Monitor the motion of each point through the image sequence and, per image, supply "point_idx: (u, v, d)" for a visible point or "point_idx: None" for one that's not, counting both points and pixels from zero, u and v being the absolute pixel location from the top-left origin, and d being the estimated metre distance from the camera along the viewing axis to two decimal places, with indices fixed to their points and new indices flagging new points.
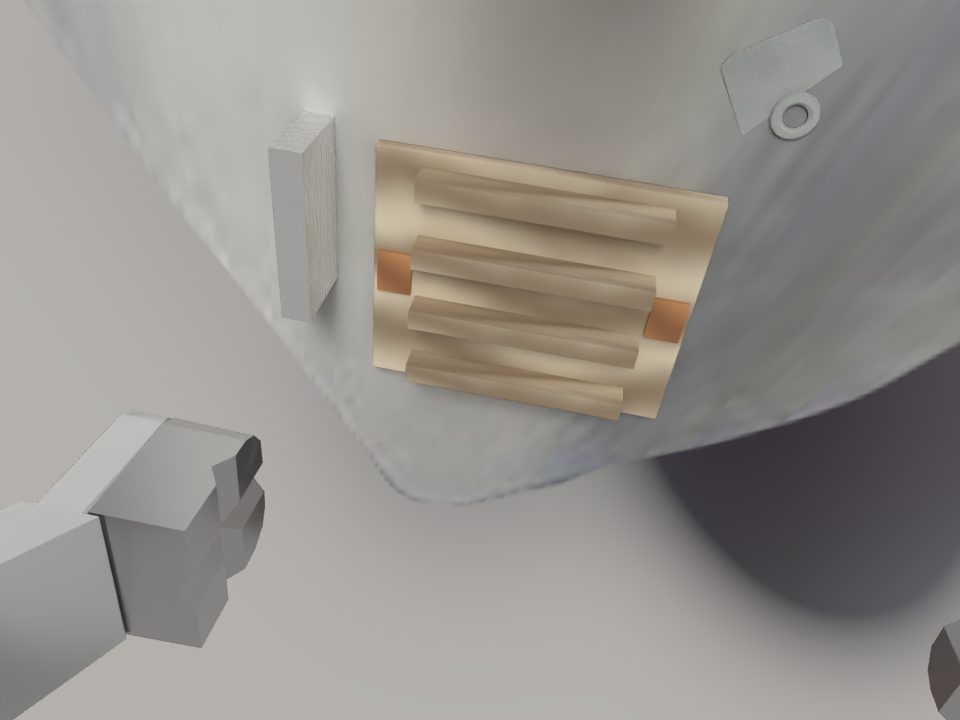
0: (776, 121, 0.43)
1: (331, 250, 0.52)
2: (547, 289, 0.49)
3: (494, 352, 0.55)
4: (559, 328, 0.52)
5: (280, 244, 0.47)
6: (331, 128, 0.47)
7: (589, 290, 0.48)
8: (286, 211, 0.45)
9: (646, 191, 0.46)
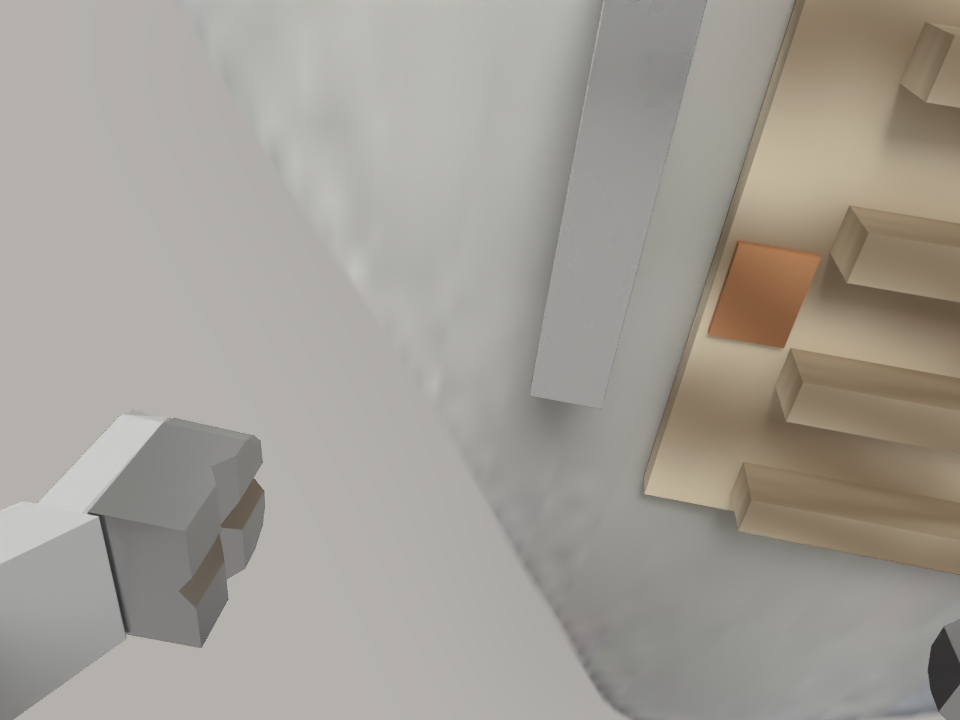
0: None
1: None
2: None
3: (933, 472, 0.26)
4: None
5: (578, 206, 0.18)
6: None
7: None
8: (623, 106, 0.16)
9: None
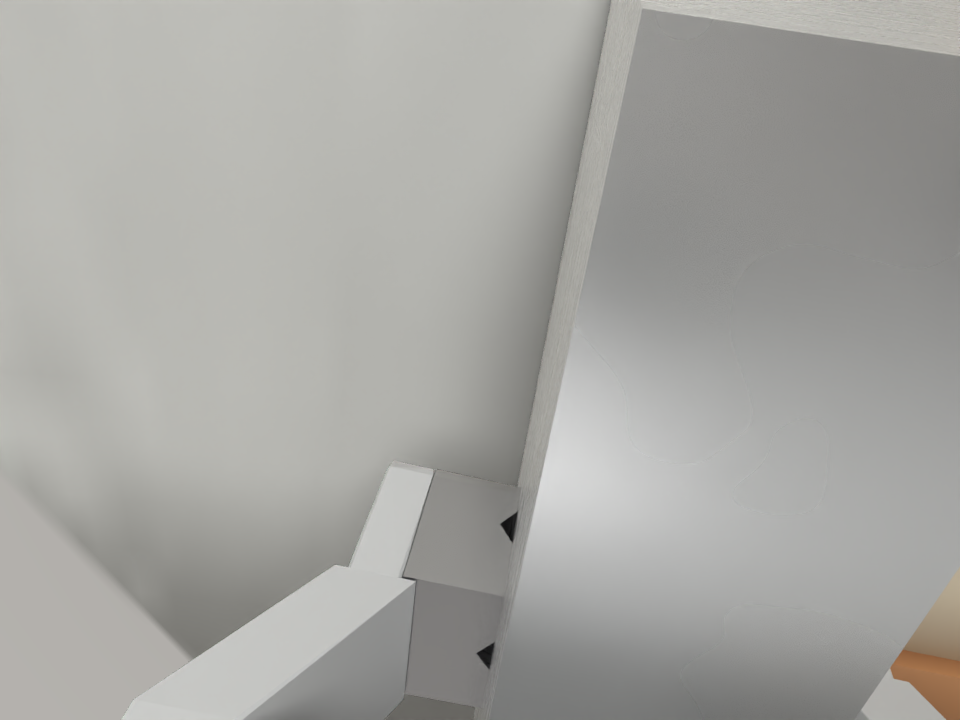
0: None
1: None
2: None
3: None
4: None
5: None
6: None
7: None
8: None
9: None
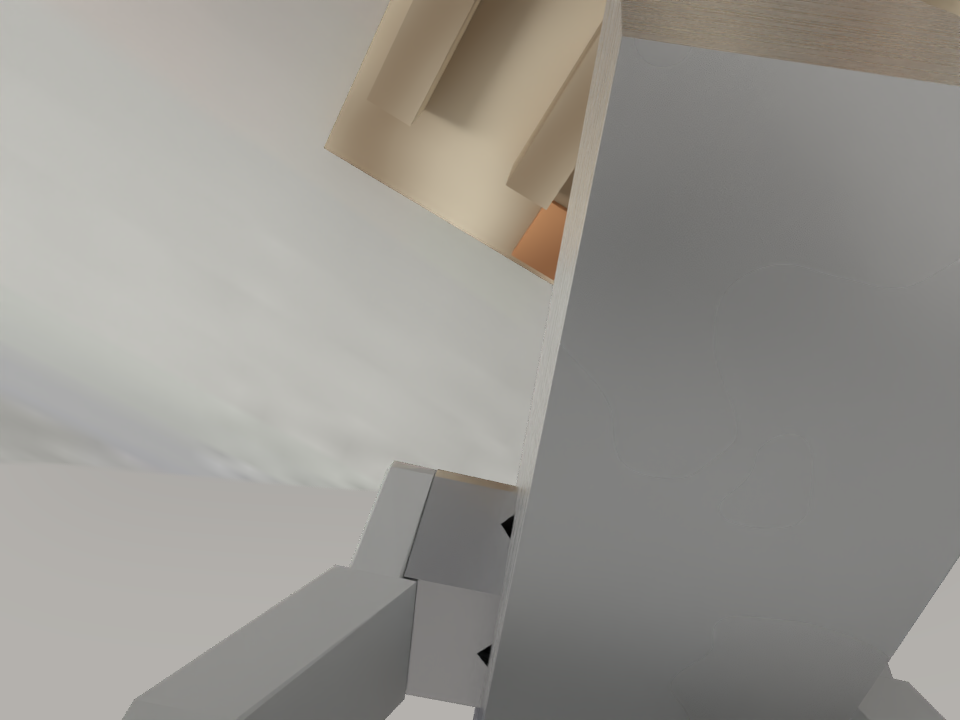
0: None
1: None
2: None
3: None
4: None
5: None
6: None
7: None
8: None
9: None
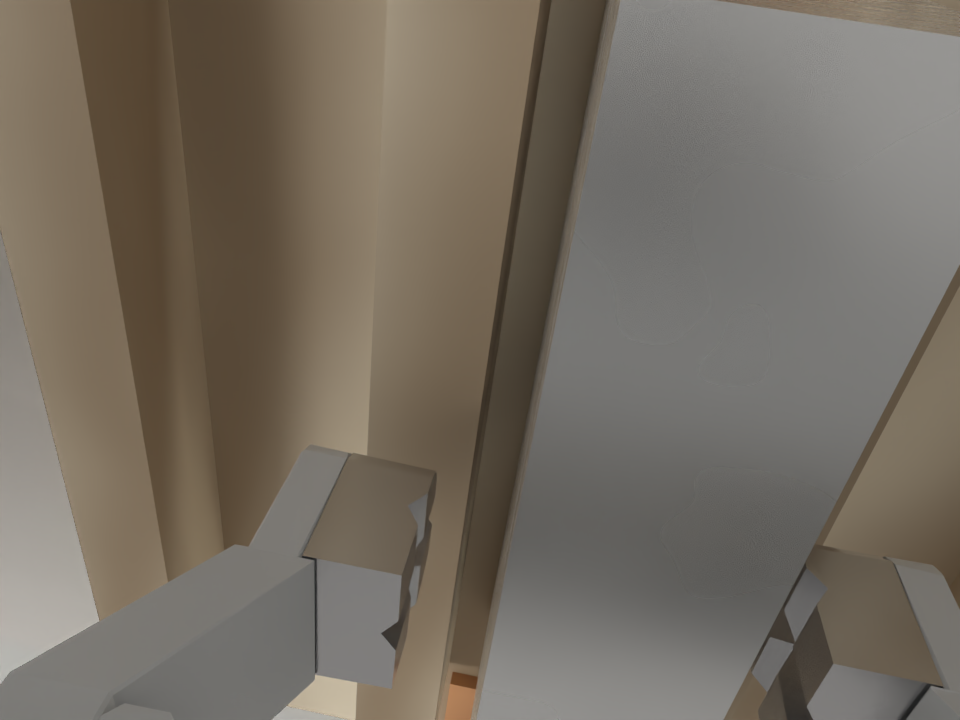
0: None
1: None
2: (465, 355, 0.09)
3: (916, 523, 0.12)
4: None
5: None
6: None
7: (447, 137, 0.08)
8: (618, 584, 0.06)
9: None
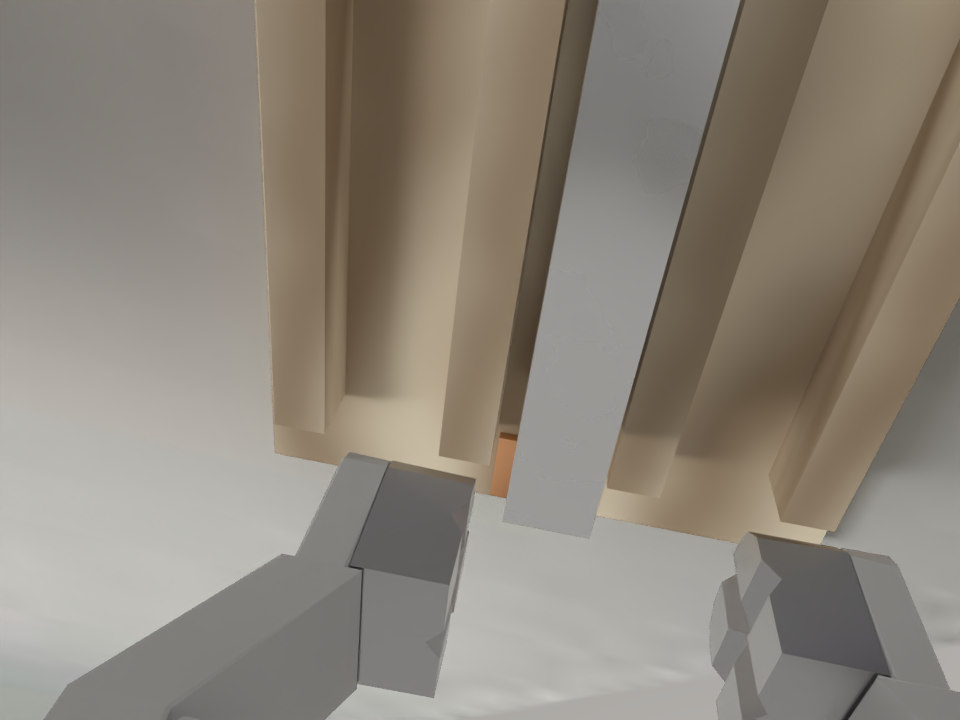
0: None
1: None
2: (527, 152, 0.17)
3: (804, 288, 0.19)
4: None
5: (558, 308, 0.14)
6: None
7: (524, 17, 0.15)
8: (614, 190, 0.13)
9: None
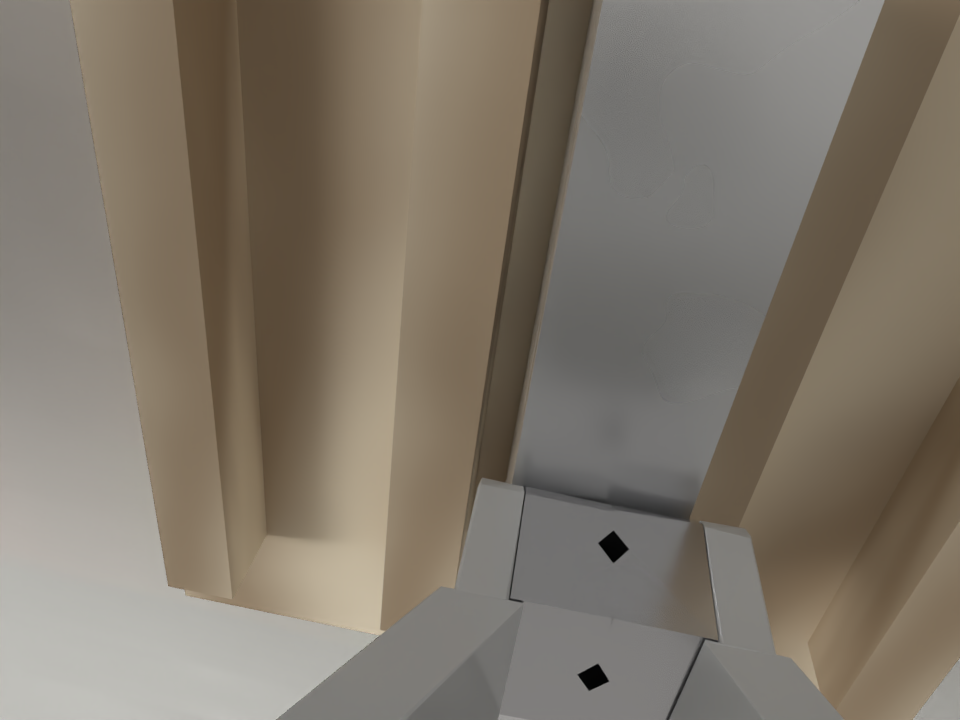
0: None
1: None
2: (482, 270, 0.12)
3: (865, 429, 0.14)
4: None
5: None
6: None
7: (470, 84, 0.10)
8: (612, 394, 0.08)
9: None
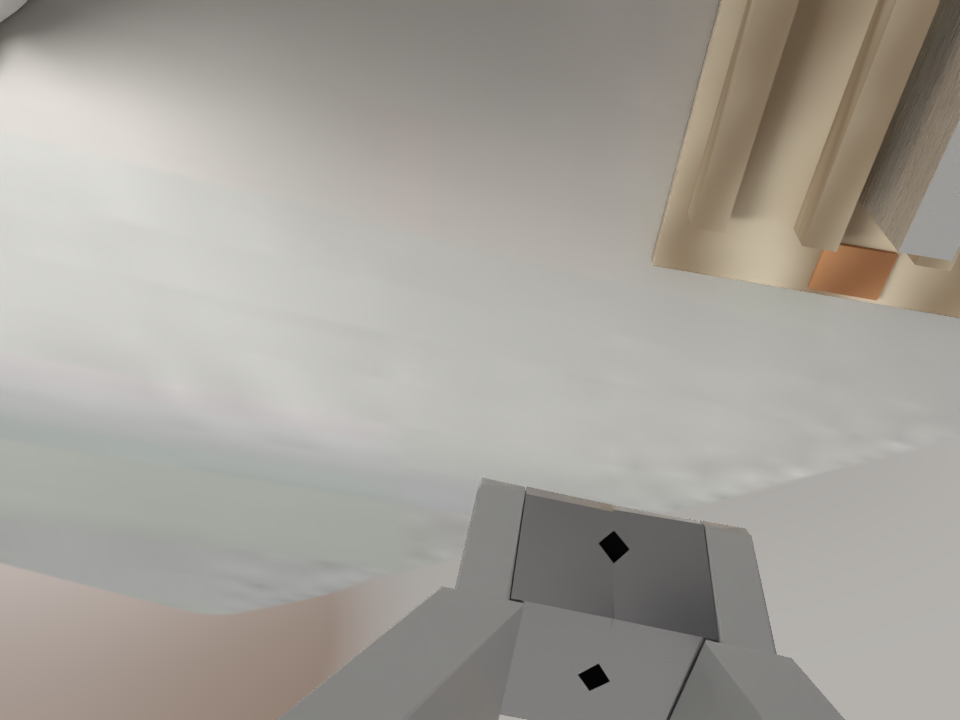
0: None
1: None
2: (920, 28, 0.28)
3: None
4: None
5: None
6: None
7: None
8: None
9: None
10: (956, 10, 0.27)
